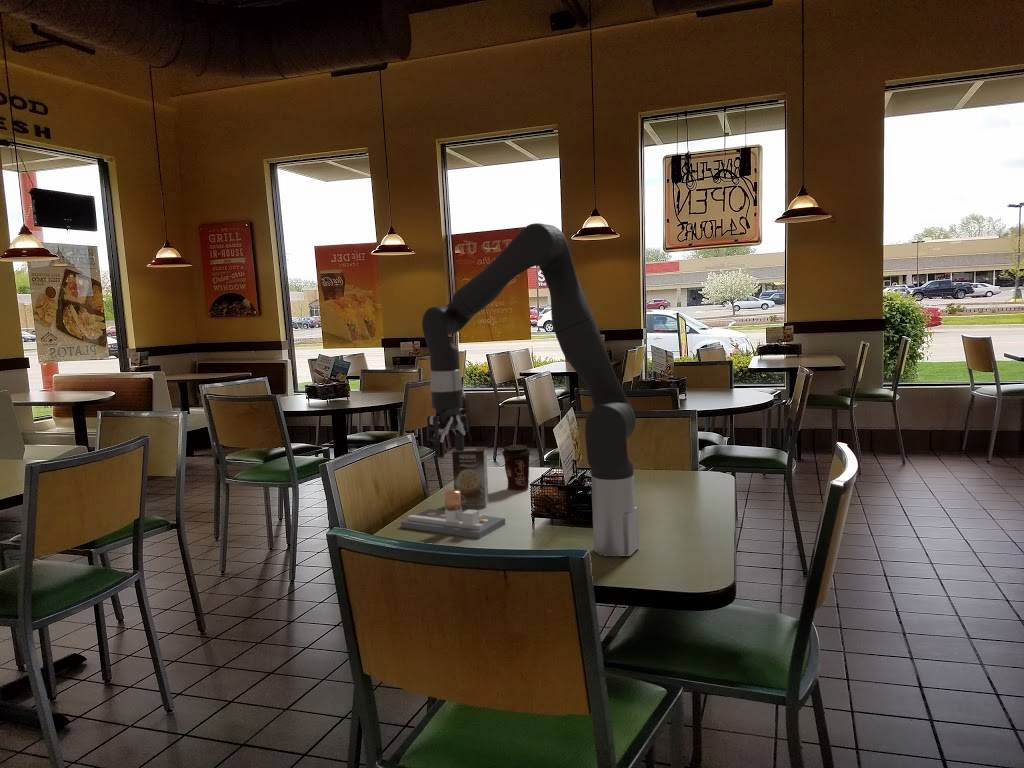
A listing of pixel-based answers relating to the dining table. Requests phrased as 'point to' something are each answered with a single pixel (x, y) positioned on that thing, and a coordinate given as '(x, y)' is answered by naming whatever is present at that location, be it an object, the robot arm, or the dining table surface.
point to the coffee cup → (517, 467)
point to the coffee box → (471, 476)
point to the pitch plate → (467, 526)
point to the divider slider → (453, 505)
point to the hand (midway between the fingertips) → (450, 453)
